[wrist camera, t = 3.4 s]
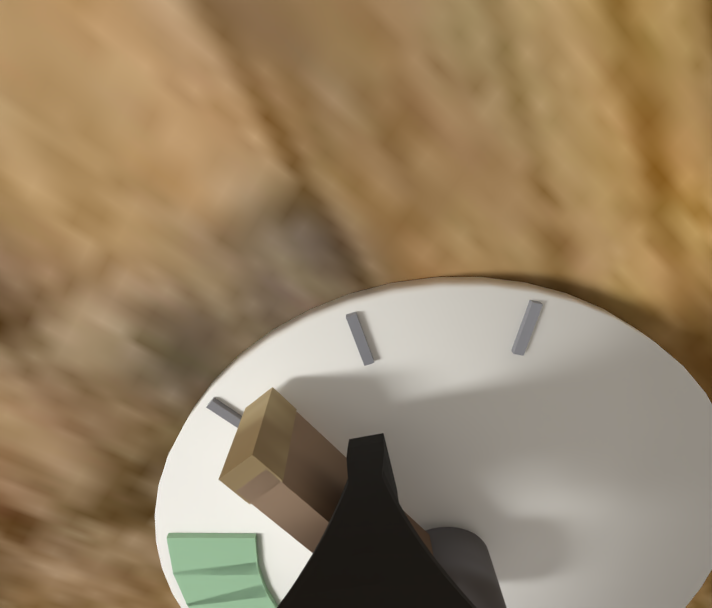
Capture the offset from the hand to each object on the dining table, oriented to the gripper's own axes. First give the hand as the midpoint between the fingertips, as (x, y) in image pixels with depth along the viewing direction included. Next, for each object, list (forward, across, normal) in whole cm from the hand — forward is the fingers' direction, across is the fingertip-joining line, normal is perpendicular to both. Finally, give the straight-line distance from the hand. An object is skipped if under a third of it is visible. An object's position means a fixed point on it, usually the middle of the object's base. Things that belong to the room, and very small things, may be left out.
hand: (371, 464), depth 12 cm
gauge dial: (+2, -1, +6) cm, 6 cm away
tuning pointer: (+1, 0, +3) cm, 3 cm away
